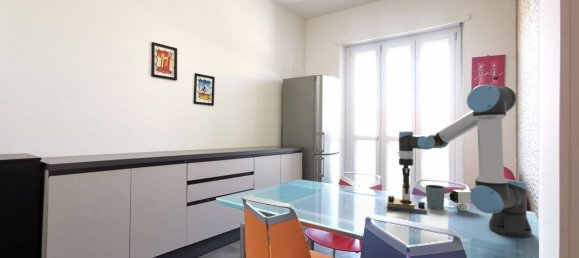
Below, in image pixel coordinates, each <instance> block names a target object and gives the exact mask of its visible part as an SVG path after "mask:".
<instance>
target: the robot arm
mask: <svg viewBox="0 0 579 258" xmlns="http://www.w3.org/2000/svg"><path fill="white" fill-rule="evenodd" d="M517 99H518V98H517V94H516V92H515V91H514V90H513V89H512V88H510V87H508V86H506V85H505V86H504V85H494V84H480V85H477V86H475V87H474V88H473V89H471V90H470V92H469V93H468V95H467V98H466V103H467V107H468V108H469V109H470V110H471V111H469V112H468V113H466V114H464V115H462V117H460V118H458V119H457V120H455V121H453V122H452V123H450V124H449V125H447V126H446V127H444V128H442V129H441V130H440V131H438V132H436V133H435V134H414V131H411V130H405V131H404V130H402V131H399V132H398V152H397V154H398V165H399V166H402V169H401V171H402V176H403V177H402V179H403V180H402V184H404V186H403V188H404V199H406V200H409V184H410V176H411V174H410V171H411V168H409V167H410V166H411V167H412V166H414V159H413V158H414V149H419V150H424V151H425V150H431V149H442V148H446V147H447V146H448V145H449V143H451V142H452V141H454V140H455V139H457V138H460V137H461V136H462V135H465V134H466V133H468V132H469V131H471V130H473V129H475V128H477V152H478V153H477V154H478V155H477V156H478V176H477V177H476V178H475V179H474V182H475V183H474V187H473V188H472V189H470V191H471V193H470V198H471V201H472V203H471V204H472V205H473V206H474V207H475V208H476V209H477V210H479V211H480V212H482V213H485V214H491V216H490V219H489V221H488V229H490V231H493V232H495V233H497V234H501V235H504V236H508V237H514V238H515V237H516V238H529V237H531V236H533V231H532V227H531V225H530V222H529V220H528V216H527V207H528V206H527V204H528V203H527V201H528V200H527V199H528V197H527V196H528V189H527V184H526V182H524V181H520V180H514V179H507V178H506V177H505V175H504V173H505V172H504V170H505V169H504V148H503V147H504V146H503V122H502V121H503V119H504V118H505V117H507V112H509V111H510V110H512V109H513V108H514V106H515V105H516V104H517Z"/></svg>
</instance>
